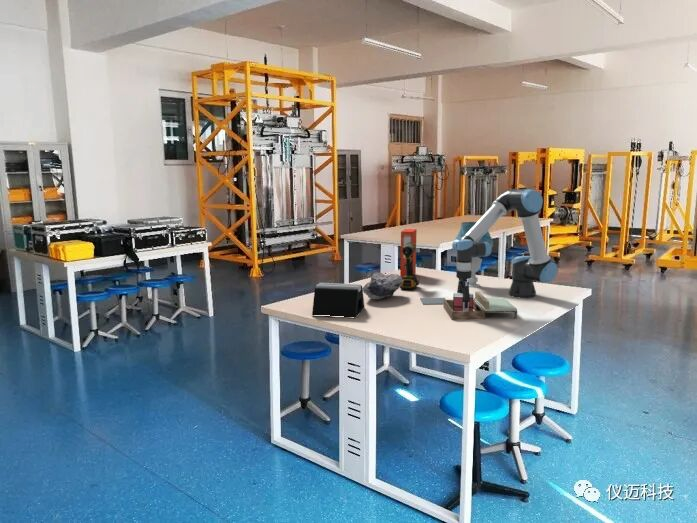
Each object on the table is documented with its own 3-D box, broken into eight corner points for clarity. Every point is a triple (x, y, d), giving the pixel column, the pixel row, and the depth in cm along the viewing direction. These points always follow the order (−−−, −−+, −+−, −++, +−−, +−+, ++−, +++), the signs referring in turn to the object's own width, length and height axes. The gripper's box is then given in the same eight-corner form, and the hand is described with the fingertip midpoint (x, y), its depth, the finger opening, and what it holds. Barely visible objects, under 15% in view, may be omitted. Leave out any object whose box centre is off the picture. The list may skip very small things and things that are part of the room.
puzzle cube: (473, 317, 284) (473, 297, 282) (452, 316, 286) (453, 297, 284) (472, 312, 294) (473, 293, 292) (453, 311, 296) (453, 292, 294)
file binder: (416, 274, 397) (416, 229, 391) (412, 279, 380) (412, 231, 375) (404, 273, 399) (405, 228, 394) (400, 278, 382) (400, 231, 377)
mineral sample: (377, 292, 341) (377, 268, 338) (407, 295, 332) (407, 270, 330) (357, 302, 317) (357, 276, 314) (389, 305, 308) (389, 278, 306)
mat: (444, 299, 322) (444, 297, 322) (448, 305, 309) (448, 303, 308) (420, 299, 323) (420, 297, 322) (423, 305, 309) (423, 303, 309)
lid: (503, 298, 301) (503, 291, 301) (517, 310, 277) (517, 302, 276) (473, 299, 301) (473, 291, 301) (484, 310, 277) (484, 302, 276)
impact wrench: (420, 285, 359) (421, 242, 355) (414, 292, 339) (415, 246, 335) (399, 284, 363) (400, 241, 359) (392, 291, 343) (392, 245, 339)
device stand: (355, 319, 283) (354, 289, 280) (312, 316, 288) (311, 288, 286) (364, 308, 304) (364, 281, 302) (324, 306, 309) (323, 279, 307)
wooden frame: (503, 307, 302) (503, 299, 301) (516, 320, 277) (517, 311, 277) (443, 308, 302) (443, 299, 301) (451, 320, 278) (451, 311, 277)
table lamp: (446, 287, 355) (447, 223, 348) (464, 281, 372) (466, 220, 366) (480, 292, 339) (482, 225, 333) (498, 285, 357) (500, 222, 350)
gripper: (452, 265, 298) (451, 305, 302) (461, 274, 274) (460, 317, 277) (466, 265, 298) (465, 304, 302) (476, 274, 274) (475, 317, 277)
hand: (462, 310), depth 290 cm, fingers open, 13 cm apart
